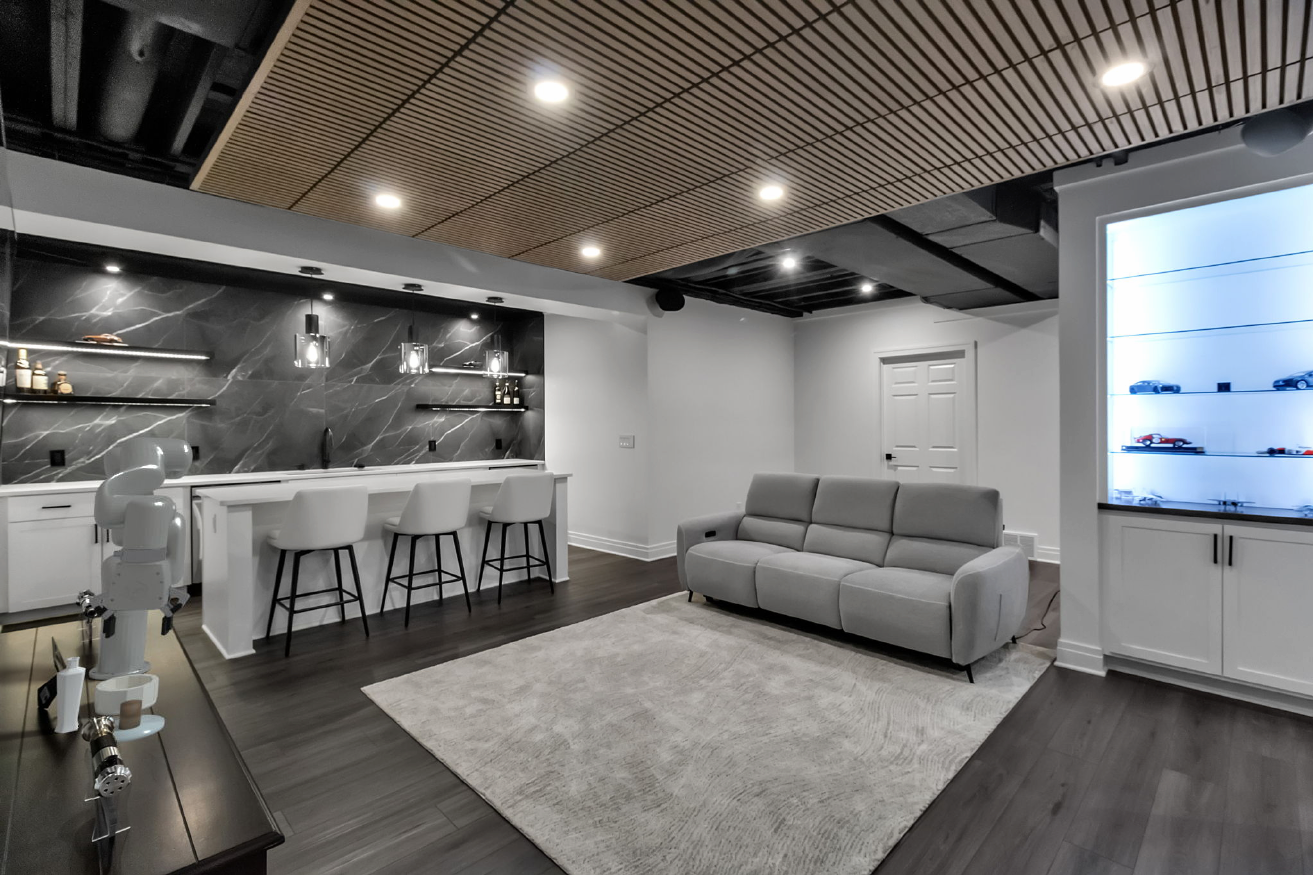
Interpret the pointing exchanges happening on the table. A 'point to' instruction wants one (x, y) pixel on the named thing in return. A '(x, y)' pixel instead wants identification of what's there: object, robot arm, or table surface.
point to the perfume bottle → (69, 695)
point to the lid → (135, 722)
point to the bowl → (125, 693)
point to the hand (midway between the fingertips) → (137, 635)
